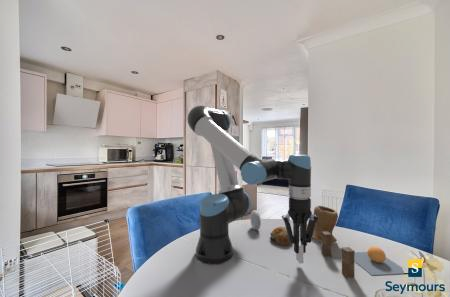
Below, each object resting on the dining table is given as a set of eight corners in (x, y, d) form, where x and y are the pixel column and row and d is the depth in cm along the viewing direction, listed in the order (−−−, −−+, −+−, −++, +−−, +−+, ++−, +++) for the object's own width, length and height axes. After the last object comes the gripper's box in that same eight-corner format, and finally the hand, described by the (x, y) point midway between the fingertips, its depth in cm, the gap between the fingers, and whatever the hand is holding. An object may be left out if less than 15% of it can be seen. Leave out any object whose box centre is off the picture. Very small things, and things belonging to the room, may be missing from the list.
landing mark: (371, 275, 68) (371, 275, 68) (344, 253, 82) (344, 252, 82) (410, 273, 69) (410, 272, 69) (376, 251, 83) (376, 251, 83)
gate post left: (325, 257, 79) (325, 234, 79) (321, 253, 82) (321, 231, 81) (331, 256, 79) (331, 234, 79) (327, 253, 82) (327, 231, 82)
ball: (382, 269, 73) (372, 258, 72) (369, 260, 78) (361, 250, 78) (392, 258, 73) (383, 248, 73) (379, 250, 79) (371, 240, 78)
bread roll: (290, 254, 88) (298, 239, 87) (268, 242, 89) (276, 227, 89) (287, 243, 97) (295, 229, 96) (268, 233, 99) (275, 219, 98)
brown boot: (344, 243, 90) (344, 210, 89) (322, 247, 86) (322, 213, 86) (319, 229, 104) (319, 201, 104) (300, 232, 101) (300, 203, 101)
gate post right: (346, 278, 66) (347, 251, 66) (341, 273, 69) (341, 247, 69) (354, 277, 67) (354, 251, 66) (349, 272, 69) (349, 247, 69)
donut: (249, 225, 110) (249, 207, 110) (255, 225, 111) (255, 207, 110) (255, 233, 100) (255, 214, 100) (261, 233, 101) (261, 213, 100)
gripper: (286, 200, 68) (286, 268, 69) (322, 199, 69) (322, 266, 70) (278, 194, 76) (278, 256, 76) (311, 194, 77) (311, 254, 77)
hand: (299, 261), depth 73 cm, fingers closed
